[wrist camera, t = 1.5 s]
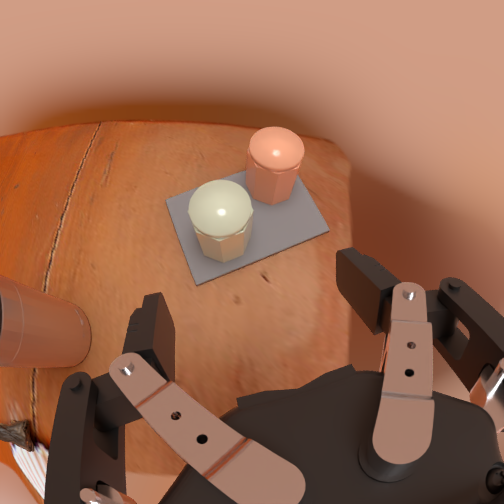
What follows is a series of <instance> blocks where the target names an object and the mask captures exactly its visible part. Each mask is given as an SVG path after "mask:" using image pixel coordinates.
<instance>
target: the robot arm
mask: <svg viewBox="0 0 504 504" xmlns="http://www.w3.org/2000/svg"><path fill="white" fill-rule="evenodd" d="M336 283H337V287H338V289H339V291H340V293H341V294H342V295H343V296H344V298H345V299H346V300H347V301H348V303H349V304H350V305H351V306H352V308H353V309H354V310H355V311H356V313H357V314H358V315H359V316H360V318H361V319H362V320H363V321H364V323H365V324H366V325H367V326H368V328H369V329H370V330H371V332H372V333H373V334H374V335H376V334H378V333H381V332H384V333H385V334H386V335H385V340H384V346H383V353H382V359H381V365H380V371H379V372H376V371H355V369H354V368H353V366H352V364H350V365H347V366H345V367H342V368H339V369H336V370H333V371H330V372H328V373H325V374H323V375H322V376H320V377H318V378H316V379H315V380H313V381H311V382H310V383H308V384H306V385H304V386H303V387H301V388H298V389H289V390H274V391H264V392H260V393H256V394H252V395H247V396H243V397H239V398H237V403H238V407H236V408H233V409H232V410H230V411H228V412H227V413H225V414H224V415H223V416H221V417H220V418H219V419H218V418H217V417H216V416H214V415H213V414H212V413H210V412H209V411H208V410H207V409H205V408H204V407H203V406H202V405H200V404H199V403H198V402H197V401H195V400H194V399H193V398H192V397H190V396H189V395H188V394H187V393H186V392H185V391H183V390H182V389H181V388H180V387H179V386H178V385H176V384H175V327H174V323H173V320H172V317H171V315H170V312H169V310H168V307H167V305H166V302H165V299H164V297H163V295H162V293H161V292H159V293H154V294H149V295H145V296H144V300H143V305H142V308H137V309H136V310H135V311H134V312H133V314H132V315H131V316H130V320H129V326H128V329H127V333H126V338H125V342H124V347H123V352H122V355H120V356H119V357H117V358H116V359H115V360H114V361H113V362H112V363H111V365H110V368H109V372H108V373H106V374H104V375H101V376H99V377H96V378H94V379H91V377H90V376H89V375H88V374H87V373H85V372H76V373H74V374H72V375H70V376H69V377H68V378H67V379H66V380H65V381H64V383H63V385H62V388H61V392H60V396H59V401H58V405H57V410H56V414H55V419H54V424H53V430H52V435H51V441H50V448H49V455H48V463H47V472H46V482H45V498H44V504H137V503H136V502H135V501H134V500H133V499H132V498H130V497H128V496H127V495H126V477H125V424H127V423H130V422H133V421H135V420H138V419H140V418H143V419H144V420H145V421H146V422H147V423H148V424H149V425H150V426H151V428H152V429H153V430H154V431H155V432H156V433H157V434H158V435H159V436H160V437H161V438H162V439H163V440H164V441H165V442H166V443H167V445H168V446H169V447H170V448H171V449H172V450H173V451H174V452H175V453H176V454H177V455H178V456H179V457H180V458H182V459H183V460H184V461H185V462H186V463H187V464H186V466H185V467H184V469H183V470H182V471H181V473H180V474H179V476H178V477H177V479H176V480H175V482H174V483H173V484H172V486H171V487H170V488H169V490H168V491H167V492H166V494H165V495H164V497H163V498H162V499H161V501H160V502H159V503H158V504H504V462H503V460H502V457H501V454H500V451H499V447H498V441H497V434H498V433H499V432H504V317H503V316H501V315H500V314H499V313H498V312H497V311H496V310H495V309H494V308H493V307H492V306H491V305H490V304H489V303H487V302H486V301H485V300H484V299H483V298H482V297H481V296H480V295H479V294H477V293H476V292H475V291H474V290H473V289H471V288H470V287H469V286H468V285H467V284H466V283H465V282H463V281H462V280H460V279H457V278H451V277H449V278H445V279H443V280H442V281H441V282H440V285H439V289H438V290H430V291H424V289H423V288H422V287H421V286H419V285H418V284H415V283H411V282H403V283H402V282H401V281H399V280H398V279H397V278H396V277H395V276H394V275H393V274H391V273H390V272H389V271H388V270H387V269H385V267H383V266H382V265H380V263H379V262H377V261H376V260H375V259H374V258H372V257H369V256H367V255H362V254H360V253H359V252H358V251H357V250H356V249H355V248H353V247H350V248H346V249H343V250H339V251H337V253H336ZM459 320H460V321H461V322H462V323H463V324H464V325H465V327H466V328H467V329H468V331H469V333H470V338H469V340H468V339H467V337H466V336H465V335H464V334H463V333H462V332H461V331H460V330H459V329H458V328H457V325H458V322H459ZM90 343H91V330H90V325H89V322H88V320H87V318H86V316H85V314H84V312H83V311H82V310H81V309H80V308H79V307H77V306H76V305H75V304H72V303H70V302H67V301H64V300H61V299H58V298H56V297H53V296H51V295H48V294H45V293H43V292H40V291H38V290H35V289H33V288H30V287H28V286H25V285H23V284H20V283H18V282H16V281H13V280H11V279H9V278H6V277H4V276H2V275H0V367H25V368H49V367H52V368H55V367H73V366H76V365H78V364H79V363H81V362H82V361H83V359H84V358H85V357H86V355H87V353H88V351H89V348H90ZM433 345H434V347H435V348H436V349H437V350H438V352H439V353H440V354H441V355H442V357H443V358H444V359H445V360H446V362H447V363H448V364H449V366H450V367H451V368H452V369H453V371H454V372H455V373H456V375H457V376H458V377H459V378H460V380H461V382H462V383H463V384H464V385H465V387H466V388H467V390H468V391H469V393H470V401H471V403H470V402H467V401H464V400H460V399H457V398H454V397H451V396H448V395H445V394H442V393H439V392H436V391H433V390H432V382H433Z"/></svg>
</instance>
